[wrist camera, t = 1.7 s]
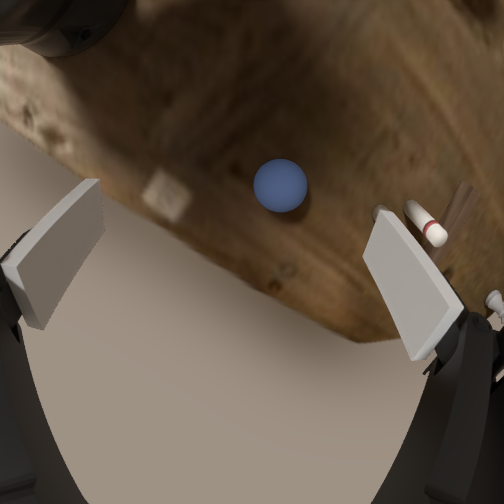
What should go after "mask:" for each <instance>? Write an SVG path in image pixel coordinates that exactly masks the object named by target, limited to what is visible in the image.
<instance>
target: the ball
mask: <svg viewBox="0 0 504 504" xmlns="http://www.w3.org/2000/svg"><path fill="white" fill-rule="evenodd" d="M253 188H254V193H255V196H256V198H257V199H258V201H259V202H260V203H261V205H263V206H264V207H265V208H267V209H269V210H271V211H274V212H287V211H290V210H293V209H295V208H296V207H298V206H299V205H300V204H301V203H302V201H303V200H304V198H305V196H306V193H307V179H306V176H305V174H304V172H303V171H302V169H301V168H300V167H299V166H298V165H297V164H295V163H294V162H292V161H289V160H286V159H274V160H271V161H268V162H267V163H265V164H264V165H262V166H261V167H260V169H259V170H258V171H257V173H256V175H255V178H254V183H253Z"/></svg>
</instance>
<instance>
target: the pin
mask: <svg viewBox="0 0 504 504" xmlns="http://www.w3.org/2000/svg"><path fill="white" fill-rule="evenodd" d="M403 211H404V213H405V214H406V215H407V216H408V217H409V218H410V219H411V221H412V222H413V223H414V224H415V225H416V226H417V227H418V228H419V229H420V231H421V232H422V233H423V234H424V236H425V237H426V238H427V239H428V240H429V241H430V242H431V243H432V245H433V246H434V247H440V246H442V245H443V244H444V243H445V242H446V240H447V237H448V235H447V232H446V231H445V230H444V229H443V228H442V227H441V225H440V224H439V223H438V222H437V221H435V220H434V219H433V218H432V217H431V216H430V215H429V214H428V213H427V212H426V211H425V210H424V209H423V208H422V207H421V206H420V205H419V204H418V203H417V202H416V201H415V200H412V199H411V200H408V201H406V202H405V204H404V206H403Z"/></svg>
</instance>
